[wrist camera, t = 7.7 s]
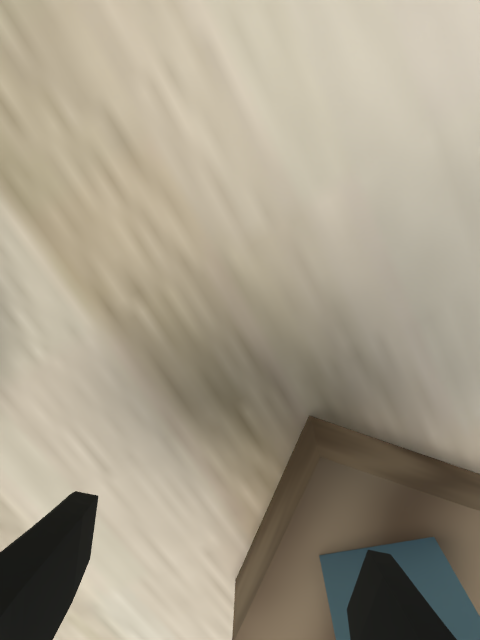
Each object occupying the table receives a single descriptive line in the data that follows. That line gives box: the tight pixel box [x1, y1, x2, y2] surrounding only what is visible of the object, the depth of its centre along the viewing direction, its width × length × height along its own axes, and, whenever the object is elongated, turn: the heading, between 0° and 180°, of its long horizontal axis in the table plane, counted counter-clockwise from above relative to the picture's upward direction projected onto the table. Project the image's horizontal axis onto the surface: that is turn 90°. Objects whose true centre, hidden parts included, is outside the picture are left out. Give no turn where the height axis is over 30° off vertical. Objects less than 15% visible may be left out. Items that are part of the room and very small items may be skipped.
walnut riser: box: [232, 416, 480, 640], centre depth 20 cm, size 11×11×4 cm
